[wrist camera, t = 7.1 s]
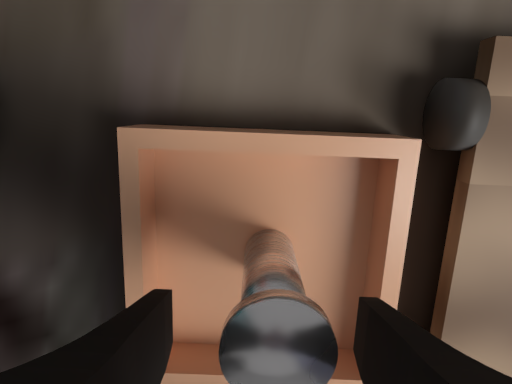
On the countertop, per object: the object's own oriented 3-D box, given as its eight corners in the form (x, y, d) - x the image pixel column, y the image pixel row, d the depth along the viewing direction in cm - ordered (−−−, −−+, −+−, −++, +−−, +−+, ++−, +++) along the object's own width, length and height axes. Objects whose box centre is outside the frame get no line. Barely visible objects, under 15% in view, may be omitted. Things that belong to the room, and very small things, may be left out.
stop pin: (300, 285, 18) (330, 408, 10) (232, 281, 18) (216, 402, 10) (307, 221, 17) (344, 305, 10) (236, 217, 17) (221, 298, 10)
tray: (365, 352, 20) (384, 395, 17) (148, 344, 19) (129, 386, 17) (393, 134, 17) (421, 139, 14) (141, 123, 17) (116, 127, 14)
